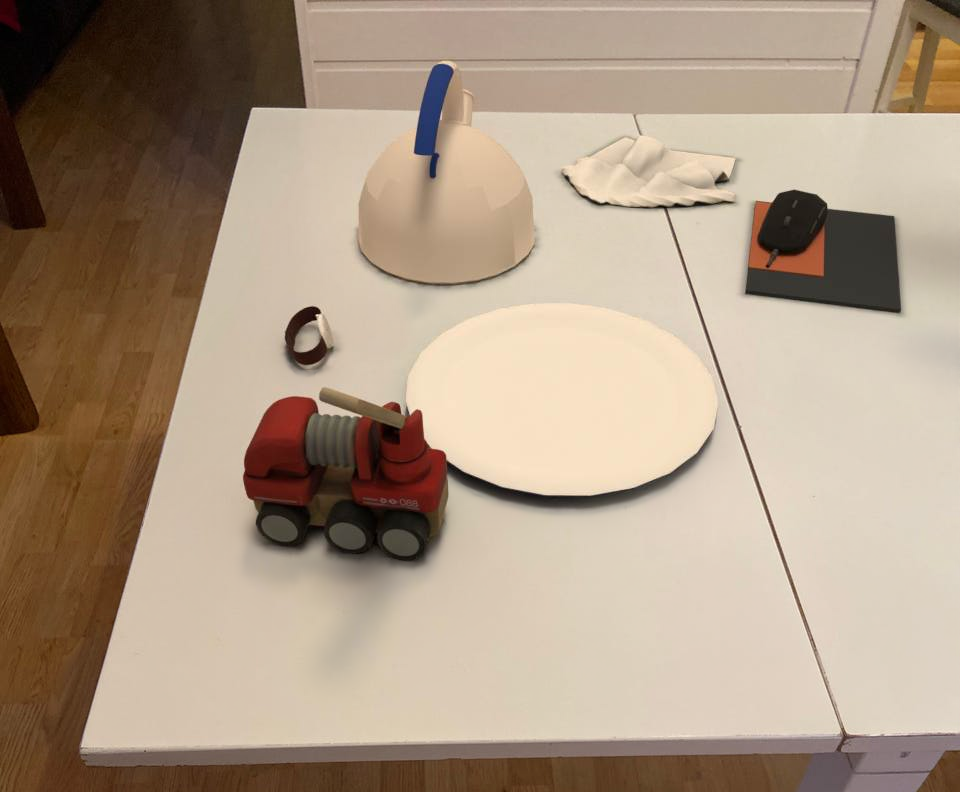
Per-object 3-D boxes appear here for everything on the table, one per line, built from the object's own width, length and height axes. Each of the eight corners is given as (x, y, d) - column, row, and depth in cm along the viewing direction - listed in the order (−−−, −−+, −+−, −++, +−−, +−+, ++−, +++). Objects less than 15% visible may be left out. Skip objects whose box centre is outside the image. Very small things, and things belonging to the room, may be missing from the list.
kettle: (546, 201, 115) (556, 32, 101) (520, 295, 103) (527, 117, 89) (382, 186, 118) (369, 20, 104) (337, 276, 105) (315, 100, 91)
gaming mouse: (739, 260, 106) (747, 225, 103) (778, 202, 114) (786, 168, 111) (795, 275, 104) (805, 239, 101) (830, 214, 112) (840, 180, 109)
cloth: (538, 175, 120) (539, 155, 118) (658, 124, 129) (660, 105, 127) (659, 239, 110) (662, 218, 108) (780, 179, 119) (785, 159, 117)
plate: (366, 351, 96) (364, 336, 95) (626, 291, 103) (628, 277, 102) (473, 545, 79) (473, 531, 78) (776, 458, 86) (781, 443, 85)
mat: (893, 219, 113) (894, 214, 112) (900, 312, 101) (901, 308, 100) (755, 203, 115) (756, 199, 115) (745, 293, 103) (746, 288, 102)
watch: (335, 368, 94) (330, 336, 92) (286, 372, 94) (280, 340, 91) (333, 324, 99) (328, 292, 96) (287, 327, 99) (281, 295, 96)
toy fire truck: (280, 475, 85) (242, 293, 71) (454, 495, 83) (449, 313, 69) (238, 568, 78) (186, 386, 64) (427, 592, 76) (415, 410, 62)
